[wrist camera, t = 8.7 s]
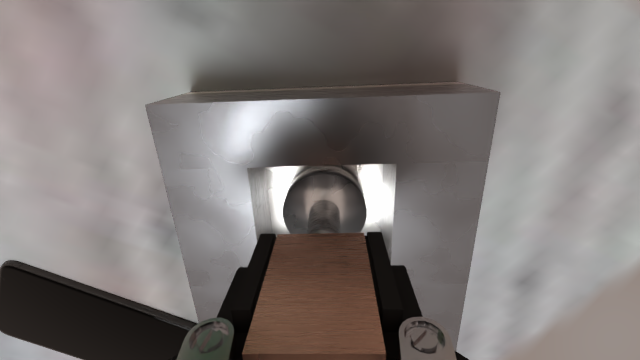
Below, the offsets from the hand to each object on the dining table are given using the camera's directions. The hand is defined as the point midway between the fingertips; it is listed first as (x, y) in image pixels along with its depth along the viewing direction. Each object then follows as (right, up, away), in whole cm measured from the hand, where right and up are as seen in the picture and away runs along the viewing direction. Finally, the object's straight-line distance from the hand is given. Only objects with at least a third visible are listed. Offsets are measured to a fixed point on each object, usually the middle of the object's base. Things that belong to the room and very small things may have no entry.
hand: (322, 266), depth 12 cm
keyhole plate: (0, -2, +8) cm, 9 cm away
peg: (0, +2, +5) cm, 6 cm away
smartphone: (-16, -8, +12) cm, 22 cm away
